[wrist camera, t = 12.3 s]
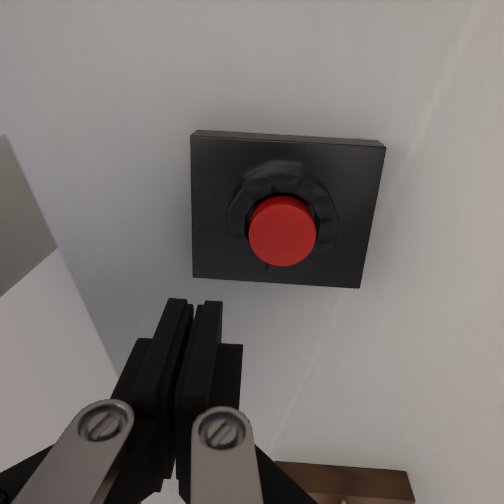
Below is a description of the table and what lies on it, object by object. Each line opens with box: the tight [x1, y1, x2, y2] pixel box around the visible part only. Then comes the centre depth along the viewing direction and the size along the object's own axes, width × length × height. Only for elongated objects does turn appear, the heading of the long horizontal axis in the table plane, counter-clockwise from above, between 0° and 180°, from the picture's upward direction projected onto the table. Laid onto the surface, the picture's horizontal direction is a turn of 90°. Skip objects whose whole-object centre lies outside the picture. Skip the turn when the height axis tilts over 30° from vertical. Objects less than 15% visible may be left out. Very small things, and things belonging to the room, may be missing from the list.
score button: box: [249, 196, 316, 266], centre depth 25 cm, size 4×4×2 cm
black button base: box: [190, 130, 386, 289], centre depth 27 cm, size 12×10×4 cm
